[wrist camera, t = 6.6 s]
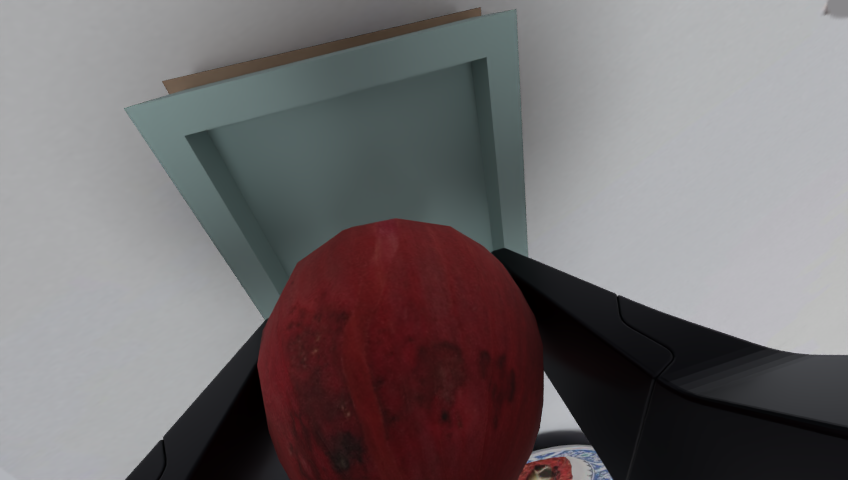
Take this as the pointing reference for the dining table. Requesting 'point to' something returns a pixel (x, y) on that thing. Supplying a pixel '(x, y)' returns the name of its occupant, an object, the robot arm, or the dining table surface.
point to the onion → (402, 360)
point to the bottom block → (308, 52)
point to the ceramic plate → (565, 464)
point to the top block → (351, 147)
